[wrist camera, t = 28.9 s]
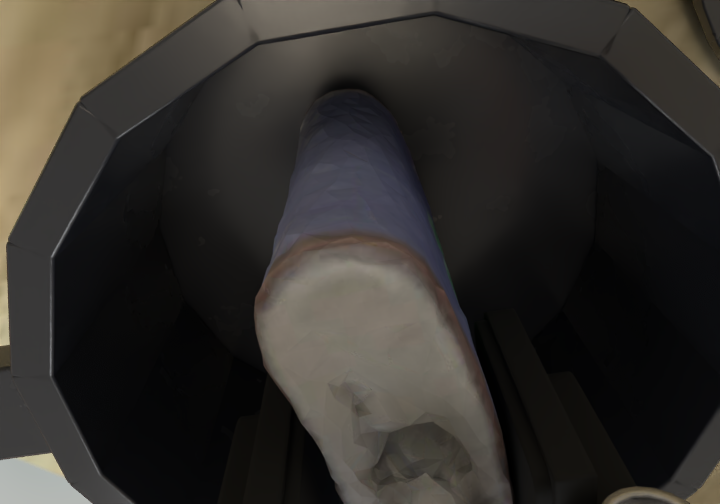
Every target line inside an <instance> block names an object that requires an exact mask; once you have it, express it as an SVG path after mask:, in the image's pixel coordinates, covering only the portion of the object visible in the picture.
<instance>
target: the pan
mask: <svg viewBox="0 0 720 504" xmlns="http://www.w3.org/2000/svg"><path fill="white" fill-rule="evenodd" d="M341 89H360V90H363V91H366V92H368V93H369V94H371V95H373V96H374V97H375V98H377V99H378V100H379V101H380V102H381V103H382V104H383V105H384V106H385V107H386V108H387V109H388V110H389V111H390V112H391V114H392V115H393V117H394V118H395V119H396V121H397V124H398V127H399V130H400V131H402V135H403V137H404V140H405V142H406V145H407V146H408V148H409V150H410V152H411V156H412V159H413V162H414V165H415V167H416V168H415V169H416V172H417V175H418V177H419V180H420V182H421V185H422V187H423V190H424V193H425V195H426V198H427V202H428V204H429V206H430V209H431V213H432V218H433V221H434V225H435V229H436V232H437V235H438V238H439V241H440V244H441V247H442V250H443V253H444V258H445V262H446V265H447V268H448V270H449V274H450V277H451V280H452V283H453V287H454V290H455V293H456V297H457V300H458V303H459V306H460V308H461V310H462V312H463V313H464V315H465V317H466V318H467V322H468V326H469V329H470V333H471V337H472V341H473V345H474V348H475V351H476V342H475V330H474V322H475V321H482V320H484V313H485V312H491V311H498V310H505V309H512V308H513V309H514V310H515V311H516V313H517V315H518V317H519V319H520V321H521V323H522V325H523V327H524V329H525V331H526V333H527V335H528V337H529V339H530V341H531V343H532V345H533V347H534V349H535V351H536V353H537V355H538V357H539V359H540V361H541V363H542V365H543V367H544V369H545V371H546V373H547V374H551V373H559V372H566V371H569V372H571V373H572V374H573V375H574V376H575V378H576V379H577V381H578V383H579V385H580V386H581V388H582V390H583V392H584V393H585V395H586V397H587V399H588V400H589V402H590V404H591V406H592V408H593V409H594V411H595V413H596V415H597V416H598V418H599V420H600V422H601V424H602V425H603V427H604V429H605V431H606V432H607V434H608V436H609V438H610V439H611V441H612V443H613V445H614V447H615V448H616V450H617V452H618V454H619V455H620V457H621V459H622V461H623V462H624V464H625V466H626V468H627V470H628V471H629V473H630V475H631V477H632V478H633V480H634V482H635V484H636V485H637V486H640V487H653V488H657V489H660V490H663V491H667V492H670V493H672V494H674V495H676V496H678V497H680V498H682V499H684V500H686V499H687V498H688V497H690V496H691V495H692V494H694V493H695V492H696V491H697V489H699V488H701V487H702V485H703V484H704V482H705V481H706V479H707V478H708V477H709V475H710V474H711V472H712V471H713V470H714V468H715V467H716V465H717V464H718V462H719V461H720V88H719V87H718V86H717V85H716V84H715V83H714V82H713V81H712V80H711V79H710V78H708V77H707V76H706V75H705V74H704V73H703V72H702V71H701V70H700V69H699V68H698V67H697V66H696V65H695V64H694V63H693V62H692V61H691V60H690V59H688V58H687V57H686V56H685V55H684V54H683V53H682V52H681V51H680V50H679V49H678V48H677V47H676V46H675V45H674V44H673V43H672V42H671V41H670V40H669V39H667V38H666V37H665V36H664V35H663V34H662V33H661V32H660V31H659V30H658V29H657V28H656V27H655V26H654V25H653V24H652V23H651V22H650V21H649V20H647V19H646V18H645V17H644V16H643V15H642V14H641V13H640V12H639V11H638V10H637V9H636V8H633V7H629V6H628V5H627V4H625V3H622V2H618V1H615V0H216V1H214V2H213V3H211V4H210V5H209V6H207V7H206V8H204V9H203V10H202V11H200V12H199V13H197V14H196V15H195V16H193V17H192V18H190V19H189V20H188V21H186V22H185V23H183V24H182V25H181V26H179V27H178V28H176V29H175V30H174V31H172V32H171V33H169V34H168V35H167V36H165V37H164V38H162V39H161V40H160V41H158V42H157V43H155V44H154V45H153V46H151V47H150V48H148V49H147V50H146V51H144V52H143V53H141V54H140V55H139V56H137V57H136V58H134V59H133V60H132V61H130V62H129V63H127V64H126V65H125V66H123V67H122V68H120V69H119V70H118V71H116V72H115V73H113V74H112V75H111V76H109V77H108V78H106V79H105V80H104V81H102V82H101V83H99V84H98V85H97V86H95V87H94V88H92V89H91V90H90V91H88V92H87V93H85V94H84V95H83V96H81V98H80V101H78V102H77V103H76V105H75V107H74V109H73V111H72V113H71V115H70V117H69V118H68V120H67V122H66V124H65V126H64V128H63V130H62V132H61V134H60V136H59V138H58V140H57V142H56V144H55V146H54V148H53V150H52V152H51V154H50V156H49V158H48V160H47V162H46V164H45V166H44V168H43V170H42V172H41V174H40V176H39V178H38V180H37V182H36V184H35V186H34V188H33V190H32V192H31V193H30V195H29V197H28V199H27V201H26V203H25V205H24V207H23V209H22V211H21V213H20V215H19V217H18V219H17V221H16V223H15V225H14V227H13V229H12V231H11V233H10V235H9V238H8V242H7V245H6V252H7V280H8V308H9V337H10V345H6V346H0V460H3V459H10V458H18V457H25V456H32V455H39V454H47V453H52V454H53V456H54V457H55V459H56V461H57V463H58V465H59V467H60V469H61V470H62V472H63V474H64V476H65V478H66V480H67V481H68V483H70V484H71V486H72V487H73V488H75V489H76V490H77V491H78V492H79V493H81V494H82V495H83V496H84V497H85V498H87V499H88V500H89V501H90V502H91V503H93V504H217V503H218V498H219V494H220V490H221V486H222V482H223V477H224V473H225V469H226V465H227V461H228V456H229V452H230V448H231V444H232V440H233V435H234V431H235V427H236V424H237V421H238V419H239V418H240V417H241V416H248V415H255V414H260V409H261V404H262V399H263V394H264V388H265V383H266V378H267V373H268V372H267V370H266V369H265V367H264V366H263V358H262V353H261V349H260V346H259V342H258V339H257V335H256V330H255V320H254V305H255V297H256V295H257V294H258V292H259V290H260V288H261V286H262V283H263V279H264V276H265V273H266V270H267V268H268V266H269V265H270V262H271V258H272V255H273V246H274V238H275V236H276V234H277V230H278V225H279V223H280V220H281V218H282V216H283V213H284V209H285V205H286V202H287V198H288V193H289V185H290V178H291V176H292V174H293V171H294V168H295V162H296V156H297V150H298V143H299V135H300V127H301V125H302V122H303V120H304V117H305V114H306V112H307V111H308V110H309V108H310V107H311V105H312V104H313V103H314V101H315V100H316V99H318V98H319V97H321V96H323V95H324V94H326V93H328V92H330V91H335V90H341ZM340 504H344V503H343V501H342V500H341V498H340Z"/></svg>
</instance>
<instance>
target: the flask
mask: <svg viewBox="0 0 720 504" xmlns="http://www.w3.org/2000/svg"><path fill="white" fill-rule="evenodd" d="M415 168H416V167H415V165H414V162H413V159H412V156H411V152H410V150H409V148H408V146H407V145H406V142H405V140H404V137H403V135H402V131H400V130H399V127H398V124H397V121H396V119H395V118H394V117H393V115H392V114H391V112H390V111H389V110H388V109H387V108H386V107H385V106H384V105H383V104H382V103H381V102H380V101H379V100H378V99H377V98H375V97H374V96H373V95H371V94H369V93H368V92H366V91H363V90H360V89H341V90H335V91H330V92H328V93H326V94H324V95H323V96H321V97H319V98H318V99H316V100H315V101H314V103H313V104H312V105H311V107H310V108H309V110H308V111H307V112H306V114H305V117H304V120H303V122H302V125H301V127H300V135H299V143H298V150H297V156H296V162H295V168H294V171H293V174H292V176H291V178H290V185H289V193H288V198H287V202H286V205H285V209H284V213H283V216H282V218H281V220H280V223H279V225H278V230H277V234H276V236H275V238H274V246H273V255H272V258H271V262H270V265H269V266H268V268H267V270H266V273H265V276H264V279H263V283H262V286H261V288H260V290H259V292H258V294H257V295H256V297H255V305H254V320H255V330H256V335H257V339H258V342H259V346H260V349H261V353H262V358H263V366H264V367H265V369H266V370H267V372H268V373H269V375H270V376H271V378H272V379H273V381H274V382H275V383H276V385H277V386H278V387H279V389H280V390H281V392H282V393H283V394H284V396H285V397H286V398H287V400H288V401H289V402H290V404H291V405H292V407H293V409H294V411H295V413H296V414H297V416H298V418H299V420H300V422H301V424H302V425H303V426H304V427H305V429H306V430H307V431H308V432H309V434H310V435H311V436H312V438H313V439H314V441H315V442H316V444H317V446H318V447H319V449H320V450H321V452H322V454H323V456H324V458H325V461H326V464H327V467H328V470H329V472H330V475H331V477H332V479H333V480H334V481H335V489H336V491H337V493H338V495H339V496H340V498H341V500H342V501H343V503H344V504H516V500H515V495H514V490H513V486H512V481H511V477H510V471H509V465H508V459H507V454H506V448H505V443H504V440H503V434H502V430H501V427H500V423H499V420H498V417H497V413H496V410H495V406H494V403H493V400H492V397H491V394H490V391H489V388H488V385H487V382H486V379H485V376H484V373H483V370H482V368H481V365H480V362H479V359H478V356H477V353H476V351H475V348H474V345H473V341H472V337H471V333H470V329H469V326H468V322H467V318H466V317H465V315H464V313H463V312H462V310H461V308H460V306H459V303H458V300H457V297H456V293H455V290H454V287H453V283H452V280H451V277H450V274H449V270H448V268H447V265H446V262H445V258H444V253H443V250H442V247H441V244H440V241H439V238H438V235H437V232H436V229H435V225H434V221H433V218H432V213H431V209H430V206H429V204H428V202H427V198H426V195H425V193H424V190H423V187H422V185H421V182H420V180H419V177H418V175H417V172H416V169H415Z"/></svg>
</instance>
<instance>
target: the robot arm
mask: <svg viewBox="0 0 720 504" xmlns="http://www.w3.org/2000/svg"><path fill="white" fill-rule="evenodd" d="M474 330H475V342H476V353H477V356H478V359H479V362H480V365H481V368H482V370H483V373H484V376H485V379H486V382H487V385H488V388H489V391H490V394H491V397H492V400H493V403H494V406H495V410H496V413H497V417H498V420H499V423H500V427H501V430H502V434H503V440H504V443H505V448H506V454H507V459H508V465H509V471H510V477H511V481H512V486H513V490H514V495H515V500H516V504H690V503H689V502H687V501H685V500H684V499H682V498H680V497H678V496H676V495H674V494H672V493H670V492H667V491H663V490H660V489H657V488H653V487H640V486H637V485H636V484H635V482H634V480H633V478H632V477H631V475H630V473H629V471H628V470H627V468H626V466H625V464H624V462H623V461H622V459H621V457H620V455H619V454H618V452H617V450H616V448H615V447H614V445H613V443H612V441H611V439H610V438H609V436H608V434H607V432H606V431H605V429H604V427H603V425H602V424H601V422H600V420H599V418H598V416H597V415H596V413H595V411H594V409H593V408H592V406H591V404H590V402H589V400H588V399H587V397H586V395H585V393H584V392H583V390H582V388H581V386H580V385H579V383H578V381H577V379H576V378H575V376H574V375H573V374H572V373H571V372H569V371H566V372H559V373H551V374H547V373H546V371H545V369H544V367H543V365H542V363H541V361H540V359H539V357H538V355H537V353H536V351H535V349H534V347H533V345H532V343H531V341H530V339H529V337H528V335H527V333H526V331H525V329H524V327H523V325H522V323H521V321H520V319H519V317H518V315H517V313H516V311H515V310H514V309H513V308H512V309H505V310H498V311H491V312H485V313H484V320H482V321H475V322H474ZM217 504H340V496H339V495H338V493H337V491H336V489H335V481H334V480H333V479H332V477H331V475H330V472H329V470H328V467H327V464H326V461H325V458H324V456H323V454H322V452H321V450H320V449H319V447H318V446H317V444H316V442H315V441H314V439H313V438H312V436H311V435H310V434H309V432H308V431H307V430H306V429H305V427H304V426H303V425H302V424H301V422H300V420H299V418H298V416H297V414H296V413H295V411H294V409H293V407H292V405H291V404H290V402H289V401H288V400H287V398H286V397H285V396H284V394H283V393H282V392H281V390H280V389H279V387H278V386H277V385H276V383H275V382H274V381H273V379H272V378H271V376H270V375H269V373H267V378H266V383H265V388H264V394H263V399H262V404H261V409H260V414H255V415H248V416H241V417H240V418H239V419H238V421H237V424H236V427H235V431H234V435H233V440H232V444H231V448H230V452H229V456H228V461H227V465H226V469H225V473H224V477H223V482H222V486H221V490H220V494H219V498H218V503H217Z"/></svg>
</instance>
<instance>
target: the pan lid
mask: <svg viewBox="0 0 720 504" xmlns="http://www.w3.org/2000/svg"><path fill="white" fill-rule="evenodd" d="M692 1H693V5H694V8H695V11H696V13H697V16H698V18H699V21H700V23H701V26H702V28H703V31H704V33H705V36H706V38H707V41H708V43H709V44H710V46H711V48H712V49H713V51H714V53H715V54H716V56H717V58H718V59H719V61H720V0H692Z"/></svg>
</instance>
